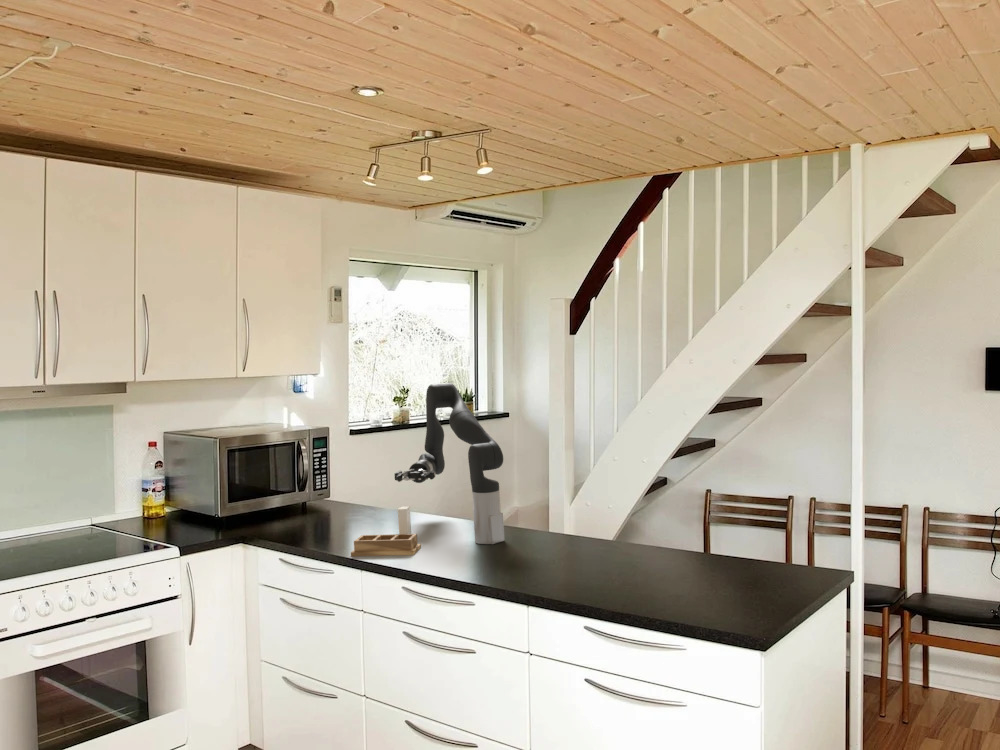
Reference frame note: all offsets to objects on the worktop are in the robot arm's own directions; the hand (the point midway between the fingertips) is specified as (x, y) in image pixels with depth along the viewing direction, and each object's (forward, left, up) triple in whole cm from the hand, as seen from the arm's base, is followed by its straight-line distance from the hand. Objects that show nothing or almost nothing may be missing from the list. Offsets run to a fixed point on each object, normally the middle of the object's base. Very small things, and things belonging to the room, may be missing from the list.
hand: (410, 478), depth 305 cm
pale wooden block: (-6, +9, -20) cm, 23 cm away
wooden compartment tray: (-10, +21, -20) cm, 31 cm away
